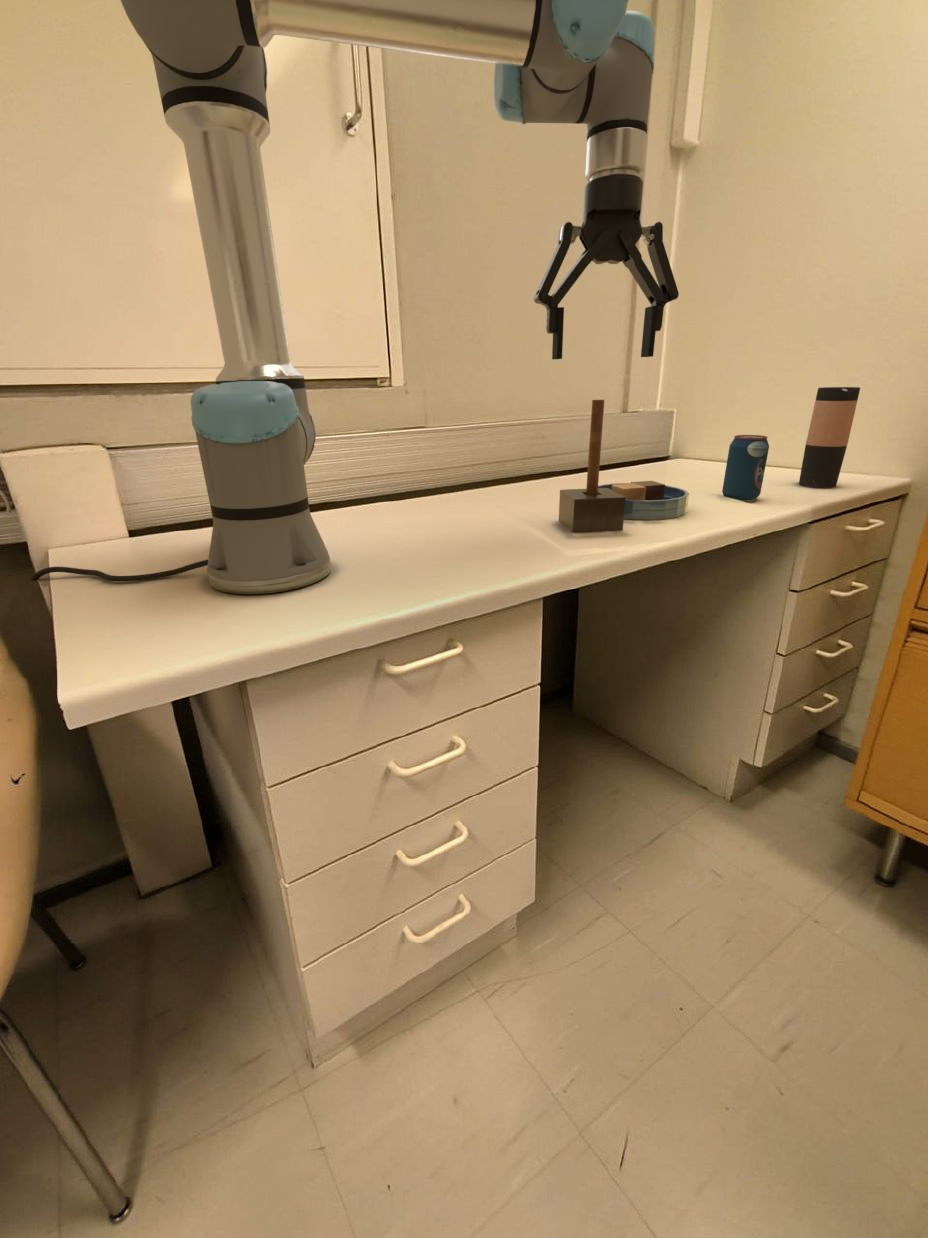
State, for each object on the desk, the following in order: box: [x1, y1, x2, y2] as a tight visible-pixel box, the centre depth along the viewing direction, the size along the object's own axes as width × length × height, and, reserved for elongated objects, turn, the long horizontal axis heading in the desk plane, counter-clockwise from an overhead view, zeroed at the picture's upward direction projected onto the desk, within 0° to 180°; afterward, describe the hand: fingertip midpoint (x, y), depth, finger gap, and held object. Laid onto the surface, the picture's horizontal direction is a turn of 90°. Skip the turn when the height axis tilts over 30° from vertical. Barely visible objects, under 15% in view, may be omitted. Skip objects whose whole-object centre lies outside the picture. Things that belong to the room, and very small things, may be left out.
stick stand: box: [558, 488, 626, 534], centre depth 91 cm, size 8×8×6 cm
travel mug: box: [798, 386, 861, 489], centre depth 120 cm, size 8×8×20 cm
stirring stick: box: [585, 399, 605, 495], centre depth 89 cm, size 2×2×20 cm
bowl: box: [598, 482, 690, 521], centre depth 102 cm, size 17×17×4 cm
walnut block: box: [630, 480, 666, 501], centre depth 103 cm, size 4×4×4 cm
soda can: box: [721, 434, 770, 503], centre depth 110 cm, size 7×7×12 cm
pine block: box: [611, 482, 646, 500], centre depth 101 cm, size 4×4×4 cm
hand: (602, 358), depth 83 cm, fingers open, 13 cm apart
